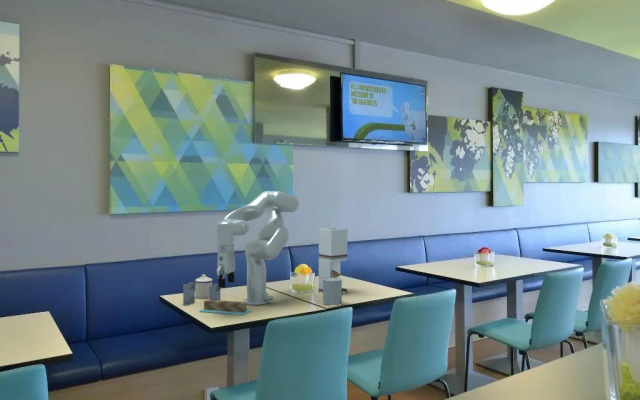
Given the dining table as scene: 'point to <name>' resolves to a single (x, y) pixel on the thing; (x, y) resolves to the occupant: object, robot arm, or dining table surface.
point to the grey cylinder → (332, 291)
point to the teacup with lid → (202, 287)
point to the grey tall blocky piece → (331, 253)
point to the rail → (225, 306)
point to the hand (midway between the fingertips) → (226, 284)
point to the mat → (225, 312)
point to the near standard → (214, 292)
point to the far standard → (189, 293)
